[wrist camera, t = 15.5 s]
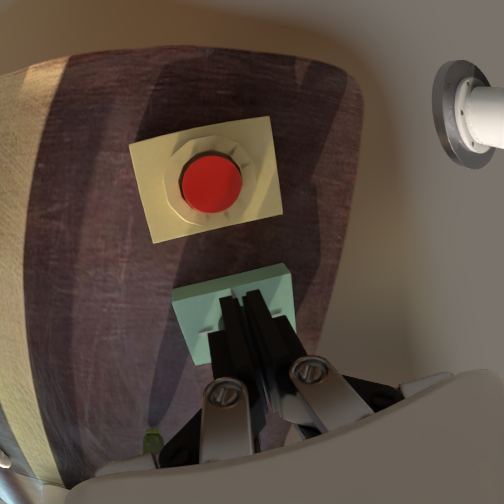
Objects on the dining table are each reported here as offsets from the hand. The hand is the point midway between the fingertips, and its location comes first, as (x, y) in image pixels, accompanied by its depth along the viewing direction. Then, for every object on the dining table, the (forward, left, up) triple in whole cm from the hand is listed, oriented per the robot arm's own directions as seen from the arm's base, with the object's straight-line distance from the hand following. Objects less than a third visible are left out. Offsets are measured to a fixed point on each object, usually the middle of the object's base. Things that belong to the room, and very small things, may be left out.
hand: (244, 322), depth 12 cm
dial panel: (-1, +11, -17) cm, 21 cm away
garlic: (+70, +44, -17) cm, 84 cm away
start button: (-1, -4, -14) cm, 14 cm away
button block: (-1, -4, -17) cm, 18 cm away
